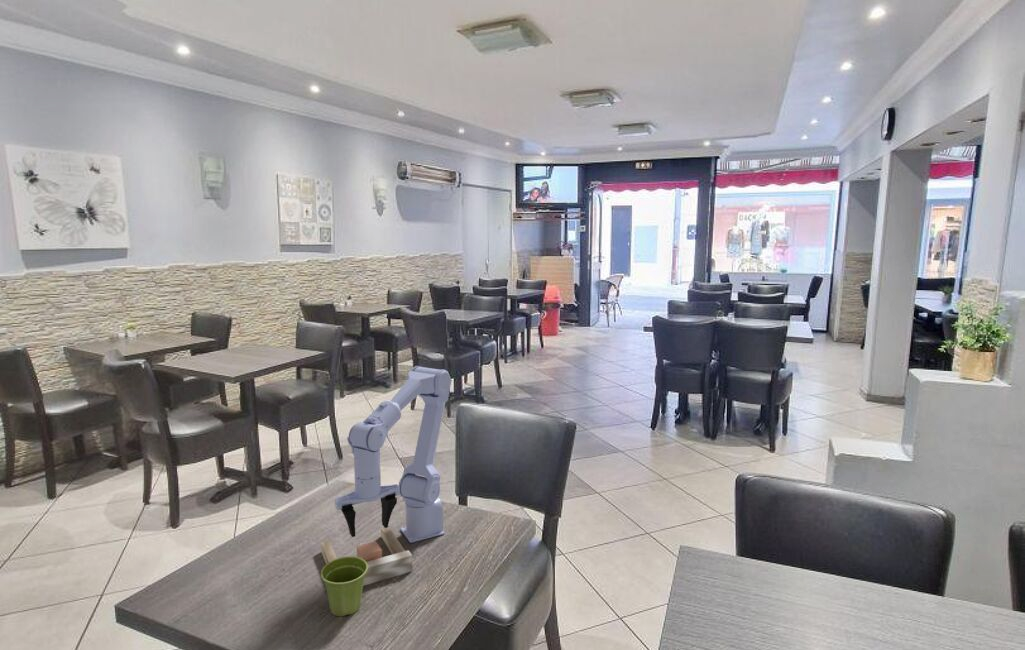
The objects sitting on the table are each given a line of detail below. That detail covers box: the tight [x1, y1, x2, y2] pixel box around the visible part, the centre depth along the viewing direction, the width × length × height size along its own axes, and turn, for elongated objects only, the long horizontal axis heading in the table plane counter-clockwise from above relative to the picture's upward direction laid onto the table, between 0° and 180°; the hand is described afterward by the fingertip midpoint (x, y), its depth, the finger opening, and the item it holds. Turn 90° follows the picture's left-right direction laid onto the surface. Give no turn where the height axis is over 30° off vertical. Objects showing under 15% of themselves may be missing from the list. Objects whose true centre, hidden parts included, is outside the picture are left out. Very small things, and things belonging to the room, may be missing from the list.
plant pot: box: [320, 556, 368, 617], centre depth 113 cm, size 9×9×9 cm
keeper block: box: [356, 540, 383, 562], centre depth 126 cm, size 4×4×6 cm
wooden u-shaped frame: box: [320, 525, 413, 587], centre depth 130 cm, size 17×18×4 cm
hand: (369, 530), depth 125 cm, fingers open, 7 cm apart
